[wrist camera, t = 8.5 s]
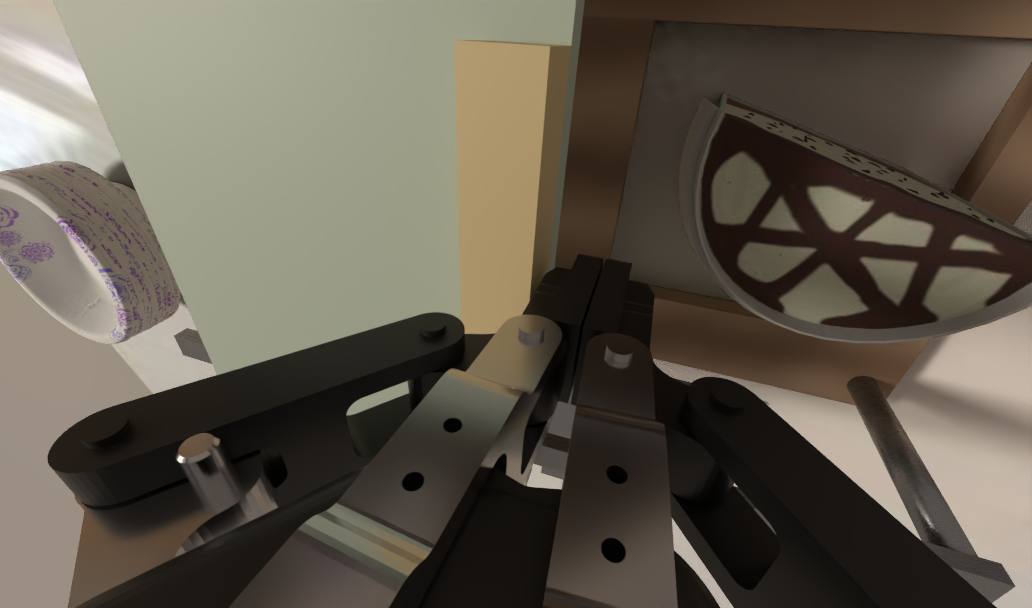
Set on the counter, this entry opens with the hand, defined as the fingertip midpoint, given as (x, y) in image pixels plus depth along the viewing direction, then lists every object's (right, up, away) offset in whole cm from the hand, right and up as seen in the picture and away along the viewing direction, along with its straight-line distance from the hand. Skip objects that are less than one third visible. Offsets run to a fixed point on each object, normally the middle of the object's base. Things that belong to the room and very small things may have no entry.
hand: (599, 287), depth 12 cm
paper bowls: (-38, +6, +29) cm, 48 cm away
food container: (+11, +6, +10) cm, 16 cm away
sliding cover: (-9, +3, +4) cm, 10 cm away
